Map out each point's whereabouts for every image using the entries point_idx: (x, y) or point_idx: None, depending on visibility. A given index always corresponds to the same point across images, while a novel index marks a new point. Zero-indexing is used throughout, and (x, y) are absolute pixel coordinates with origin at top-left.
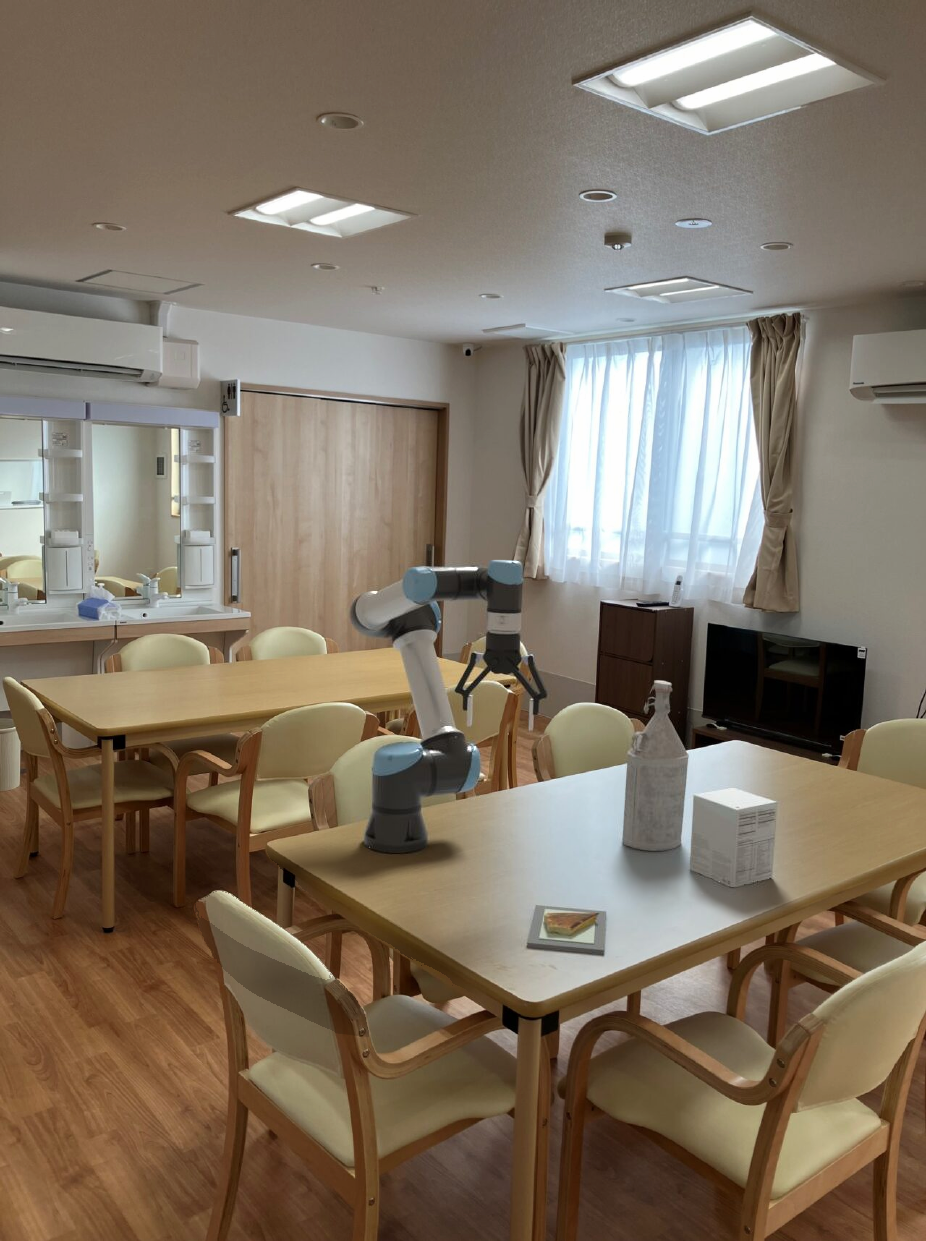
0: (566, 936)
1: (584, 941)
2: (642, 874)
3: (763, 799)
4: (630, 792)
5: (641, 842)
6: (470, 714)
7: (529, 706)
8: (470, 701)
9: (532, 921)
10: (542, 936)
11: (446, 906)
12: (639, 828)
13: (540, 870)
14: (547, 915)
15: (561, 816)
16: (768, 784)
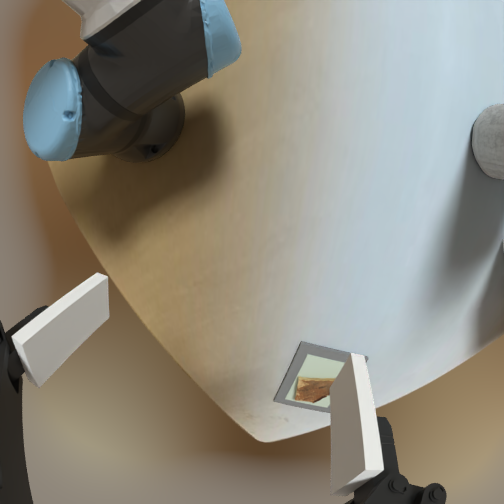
0: None
1: (321, 405)
2: (456, 251)
3: None
4: None
5: (489, 172)
6: (82, 342)
7: (331, 471)
8: (48, 376)
9: (287, 373)
10: (288, 397)
11: (207, 325)
12: (497, 171)
13: (339, 228)
14: (299, 385)
15: (403, 8)
16: None
